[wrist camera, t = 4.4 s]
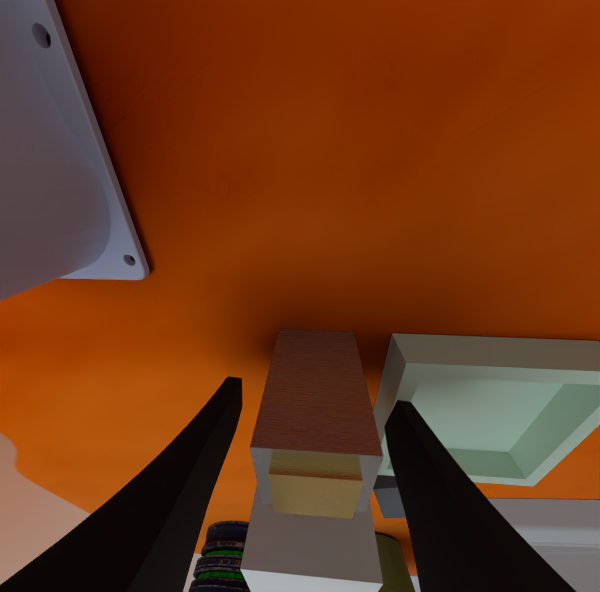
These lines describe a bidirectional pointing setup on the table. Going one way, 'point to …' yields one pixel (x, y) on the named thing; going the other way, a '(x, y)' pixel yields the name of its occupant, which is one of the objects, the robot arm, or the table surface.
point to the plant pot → (393, 566)
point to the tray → (495, 400)
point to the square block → (388, 497)
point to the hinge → (560, 535)
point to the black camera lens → (222, 559)
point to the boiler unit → (310, 552)
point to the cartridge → (316, 427)
